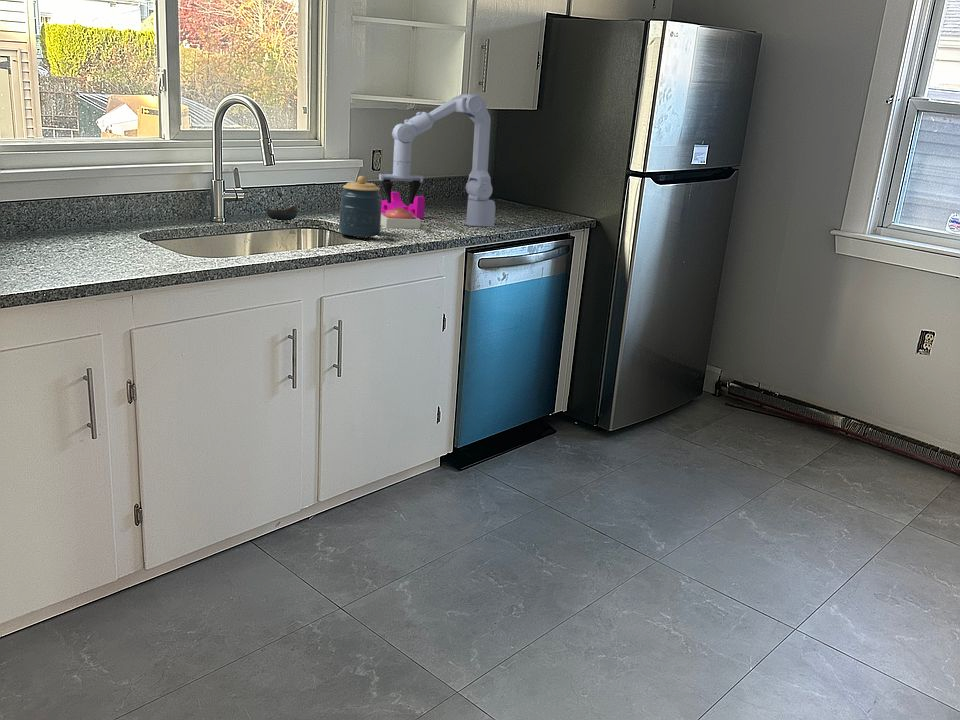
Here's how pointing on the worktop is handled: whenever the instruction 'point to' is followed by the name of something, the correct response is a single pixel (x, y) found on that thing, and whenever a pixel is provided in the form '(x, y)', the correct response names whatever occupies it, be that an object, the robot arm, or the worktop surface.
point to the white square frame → (400, 222)
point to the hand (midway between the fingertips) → (400, 203)
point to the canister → (360, 209)
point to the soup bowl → (283, 213)
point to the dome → (399, 214)
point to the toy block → (397, 202)
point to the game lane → (444, 223)
